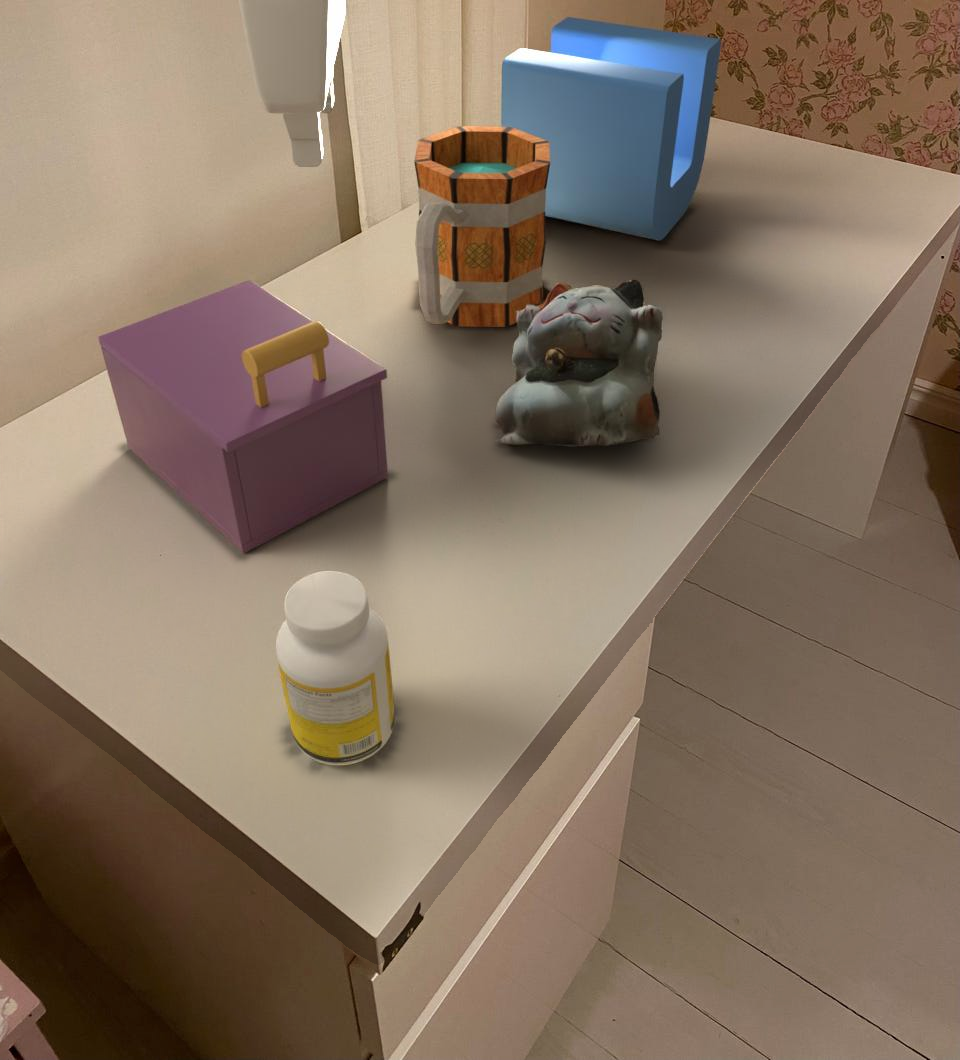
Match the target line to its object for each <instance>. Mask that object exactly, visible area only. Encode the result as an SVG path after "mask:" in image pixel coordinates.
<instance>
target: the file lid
mask: <svg viewBox="0 0 960 1060" xmlns="http://www.w3.org/2000/svg"><path fill="white" fill-rule="evenodd" d="M97 339H98V342H99V346H100V347H101V346H102V347H103V348H104V349H105V350H107V351H108V352H109V353H110V354H111V355H113V356H114V357H115V358H116V359H117V360H118V361H120V362H121V363H122V364H123V365H124V366H126V367H127V368H128V369H129V370H130V371H132V372H133V373H134V374H135V375H136V376H138V377H139V378H140V379H141V380H142V381H144V382H145V383H146V384H147V385H148V386H149V387H151V388H152V389H153V390H154V391H155V392H157V393H158V394H159V395H160V396H161V397H163V398H164V399H165V400H166V401H167V402H169V403H170V404H171V405H172V406H173V407H175V408H176V409H177V410H178V411H179V412H180V413H182V414H183V415H184V416H185V417H186V418H188V419H189V420H190V421H191V422H192V423H194V424H195V425H196V426H197V427H198V428H200V429H201V430H202V431H203V432H204V433H206V434H207V435H208V436H209V437H210V438H212V439H213V440H214V441H215V442H216V443H217V444H219V445H220V446H221V447H222V448H223V449H225V450H226V451H227V452H230V451H232V450H235V449H237V448H239V447H241V446H243V445H245V444H247V443H249V442H252V441H254V440H256V439H258V438H260V437H262V436H264V435H267V434H269V433H271V432H273V431H275V430H277V429H279V428H281V427H284V426H286V425H288V424H290V423H292V422H294V421H296V420H298V419H301V418H303V417H305V416H307V415H309V414H311V413H313V412H315V411H318V410H320V409H322V408H324V407H326V406H328V405H330V404H332V403H335V402H337V401H339V400H341V399H343V398H345V397H347V396H350V395H352V394H354V393H356V392H358V391H360V390H362V389H364V388H367V387H369V386H371V385H373V384H375V383H377V382H379V381H381V382H382V381H383V380H386V379H387V378H388V372H387V368H386V367H384V366H382V365H381V364H379V363H377V362H376V361H374V360H373V359H371V358H370V357H368V356H367V355H365V354H364V353H363V352H361V351H359V350H358V349H356V348H355V347H353V346H352V345H350V344H348V343H347V342H345V341H344V340H342V339H341V338H339V337H338V336H337V335H335V334H333V333H332V332H330V331H329V330H327V329H326V328H325V327H324V325H323V324H322V323H321V322H320V321H318V320H311V319H310V318H309V317H307V316H305V314H303V313H301V312H300V311H298V310H297V309H295V308H293V307H292V306H291V305H289V304H287V303H286V302H285V301H283V300H281V299H280V298H278V297H277V296H275V295H273V294H272V293H270V292H269V291H267V290H266V289H265V288H263V287H261V286H260V285H259V284H257V283H255V282H253V281H252V280H251V279H248V280H245V281H242V282H240V283H237V284H235V285H232V286H229V287H227V288H224V289H221V290H218V291H216V292H214V293H211V294H208V295H205V296H203V297H200V298H198V299H195V300H192V301H189V302H186V303H184V304H182V305H179V306H176V307H174V308H171V309H168V310H165V311H163V312H159V313H158V314H154V315H152V316H150V317H147V318H144V319H142V320H138V321H136V322H134V323H131V324H129V325H126V326H123V327H120V328H118V329H115V330H112V331H109V332H107V333H105V334H102V335H99V336H98V337H97Z"/></svg>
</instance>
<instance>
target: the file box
mask: <svg viewBox="0 0 960 1060" xmlns="http://www.w3.org/2000/svg"><path fill="white" fill-rule="evenodd" d="M100 349H101V353H102V356H103V360H104V364H105V367H106V371H107V375H108V378H109V382H110V385H111V389H112V392H113V393H112V394H113V397H114V400H115V404H116V409H117V411H118V415H119V418H120V421H121V426H122V429H123V433H124V436H125V440H126V443H127V447H128V449H129V450H130V451H132V453H134V455H136V456H137V457H138V458H139V459H140V460H141V461H143V463H144V464H146V465H147V466H148V467H149V468H150V469H151V470H152V471H153V472H154V473H155V474H156V475H157V476H158V477H159V478H161V479H162V480H163V482H165V483H166V484H167V485H168V486H169V487H170V488H172V489H173V490H174V491H175V492H176V493H177V495H179V496H180V497H181V498H182V499H183V500H184V501H185V502H187V503H188V505H190V506H191V507H192V508H193V509H194V510H195V511H196V512H197V513H198V514H200V515H201V516H202V517H203V518H204V519H205V520H206V521H207V522H208V523H209V524H210V525H211V526H213V527H214V528H215V529H216V530H217V531H218V532H219V533H220V534H221V535H222V536H224V538H225V539H227V540H228V542H230V543H231V544H232V545H233V546H234V547H235V548H236V549H238V550H239V551H240V552H241V553H242V554H246V553H248V552H250V551H253V549H255V548H258V547H260V546H261V545H263V544H265V543H267V542H268V541H270V540H272V539H274V538H276V537H278V536H280V535H282V534H284V533H286V532H287V531H290V530H291V529H293V528H295V527H297V526H299V525H301V524H302V523H305V522H306V521H308V520H310V519H312V518H314V517H316V516H318V515H319V514H321V513H323V512H326V511H327V510H329V509H331V508H333V507H335V506H337V505H338V504H340V503H342V502H344V501H346V500H348V499H350V498H352V497H354V496H355V495H357V494H359V493H361V492H362V491H365V490H366V489H368V488H371V487H373V486H374V485H377V484H378V483H379V482H382V481H384V480H385V479H387V478H388V477H389V473H388V458H387V457H388V456H387V444H386V429H385V415H384V402H383V400H384V399H383V390H382V389H383V388H382V387H383V386H382V380H381V381H379V382H377V383H375V384H373V385H371V386H369V387H367V388H364V389H362V390H360V391H358V392H356V393H354V394H352V395H350V396H347V397H345V398H343V399H341V400H339V401H337V402H335V403H332V404H330V405H328V406H326V407H324V408H322V409H320V410H318V411H315V412H313V413H311V414H309V415H307V416H305V417H303V418H301V419H298V420H296V421H294V422H292V423H290V424H288V425H286V426H284V427H281V428H279V429H277V430H275V431H273V432H271V433H269V434H267V435H264V436H262V437H260V438H258V439H256V440H254V441H252V442H249V443H247V444H245V445H243V446H241V447H239V448H237V449H235V450H232V451H230V452H227V451H226V450H225V449H223V448H222V447H221V446H220V445H219V444H217V443H216V442H215V441H214V440H213V439H212V438H210V437H209V436H208V435H207V434H206V433H204V432H203V431H202V430H201V429H200V428H198V427H197V426H196V425H195V424H194V423H192V422H191V421H190V420H189V419H188V418H186V417H185V416H184V415H183V414H182V413H180V412H179V411H178V410H177V409H176V408H175V407H173V406H172V405H171V404H170V403H169V402H167V401H166V400H165V399H164V398H163V397H161V396H160V395H159V394H158V393H157V392H155V391H154V390H153V389H152V388H151V387H149V386H148V385H147V384H146V383H145V382H144V381H142V380H141V379H140V378H139V377H138V376H136V375H135V374H134V373H133V372H132V371H130V370H129V369H128V368H127V367H126V366H124V365H123V364H122V363H121V362H120V361H118V360H117V359H116V358H115V357H114V356H113V355H111V354H110V353H109V352H108V351H107V350H105V349H104V348H103V347H102V346H101V345H100Z"/></svg>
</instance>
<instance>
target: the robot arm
mask: <svg viewBox="0 0 960 1060" xmlns="http://www.w3.org/2000/svg"><path fill="white" fill-rule="evenodd" d="M237 2H238V6H239V12H240V17H241V22H242V27H243V33H244V37H245V44H246V48H247V53H248V59H249V64H250V68H251V72H252V77H253V81H254V86H255V90H256V92H257V96H258V98H259V101H260V103H261V105H262V107H263V108H264V110H265V112H267V113H269V114H277V115H278V114H282V116H283V117H282V118H283V121H284V124H285V127H286V130H287V133H288V136H289V139H290V145H291V154H292V155H291V156H292V161H293V163H294V165H295V166H297V167H299V168H317V167H319V166H320V165H321V164H322V161H323V156H324V145H323V134H322V133H323V132H322V129H321V116H320V114H330V113H331V112H332V110H333V106H334V103H335V94H334V93H335V91H334V80H333V79H334V65H335V62H336V57H337V52H338V49H339V42H340V39H341V34H342V30H343V25H344V21H345V17H346V0H238V1H237Z"/></svg>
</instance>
